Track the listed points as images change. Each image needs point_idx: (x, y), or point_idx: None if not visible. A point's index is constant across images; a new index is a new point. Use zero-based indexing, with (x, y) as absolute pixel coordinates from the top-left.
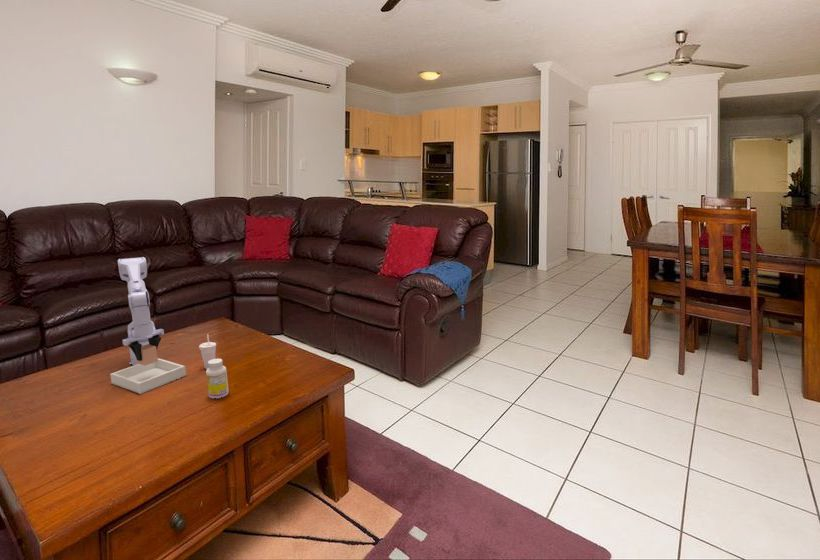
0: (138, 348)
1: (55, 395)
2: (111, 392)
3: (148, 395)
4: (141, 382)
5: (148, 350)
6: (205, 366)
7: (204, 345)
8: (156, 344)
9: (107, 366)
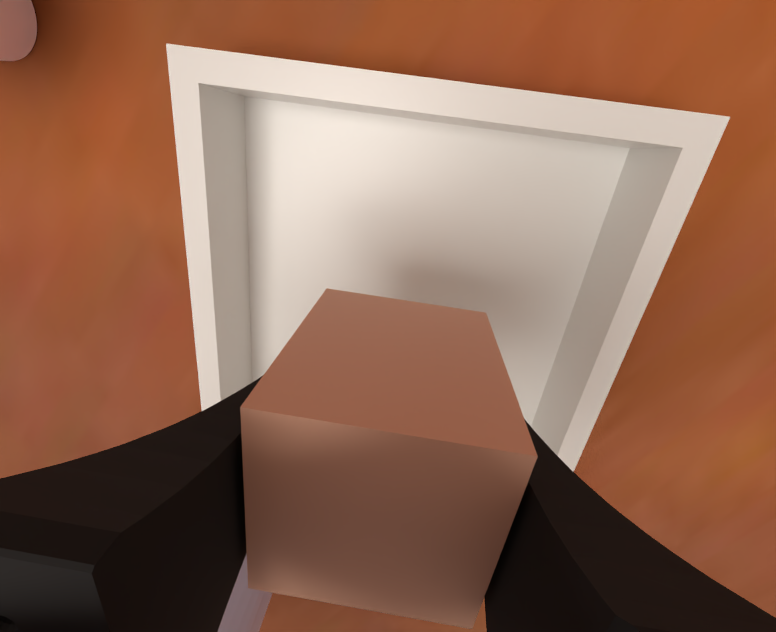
0: (635, 551)
1: (724, 581)
2: (652, 363)
3: (672, 19)
4: (689, 122)
5: (418, 408)
6: (14, 6)
7: None
8: (194, 446)
9: (363, 613)
